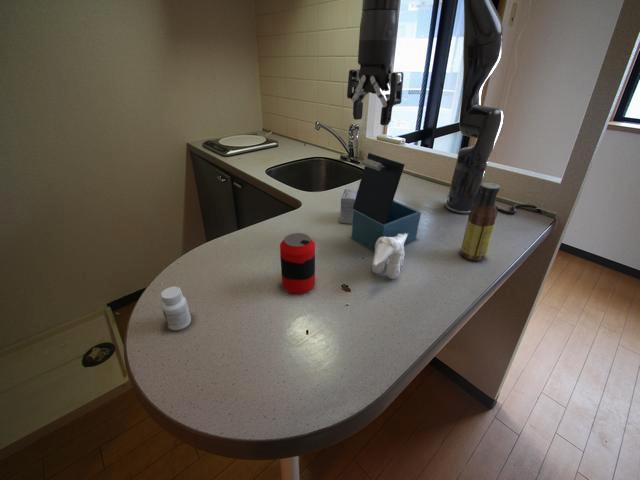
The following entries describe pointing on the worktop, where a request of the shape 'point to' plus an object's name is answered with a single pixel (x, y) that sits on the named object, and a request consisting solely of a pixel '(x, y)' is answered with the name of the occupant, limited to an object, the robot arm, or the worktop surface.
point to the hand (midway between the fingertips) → (370, 121)
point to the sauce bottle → (480, 223)
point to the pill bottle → (175, 308)
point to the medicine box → (347, 206)
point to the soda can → (297, 263)
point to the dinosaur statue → (389, 255)
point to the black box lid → (378, 187)
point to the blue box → (386, 225)
